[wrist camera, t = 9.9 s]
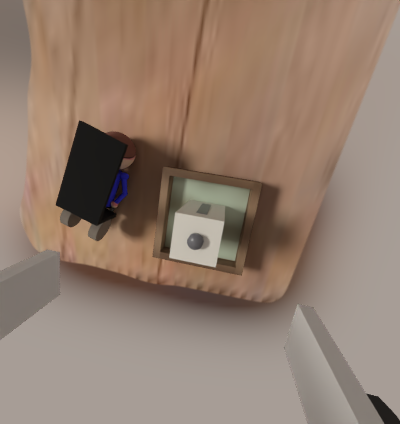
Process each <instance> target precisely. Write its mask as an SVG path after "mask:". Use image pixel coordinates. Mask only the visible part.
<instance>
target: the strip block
mask: <svg viewBox="0 0 400 424" xmlns="http://www.w3.org/2000/svg"><path fill="white" fill-rule="evenodd" d="M224 222H225V206H223V205H218V204H212V203H207V202H201V201H196V200H190V201H188V202H187V203H186V204H185V205H184V206H182V207H181V208H180V209H179V210H178V211H176V212H175V218H174V226H173V233H172V240H171V248H170V255H169V258H172V259H177V260H182V261H187V262H192V263H196V264H201V265H206V266H211V267H216V263H217V258H218V253H219V248H220V242H221V237H222V232H223V227H224Z"/></svg>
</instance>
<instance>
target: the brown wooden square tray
mask: <svg viewBox="0 0 400 424" xmlns="http://www.w3.org/2000/svg"><path fill="white" fill-rule="evenodd" d="M261 187H262V183H261V182H257V181H251V180H245V179H239V178H233V177H227V176H221V175H215V174H209V173H203V172H197V171H191V170H185V169H179V168H173V167H163V171H162V180H161V189H160V197H159V206H158V214H157V223H156V232H155V240H154V249H153V257H155V258H160V259H165V260H170V261H175V262H179V263H184V264H189V265H194V266H198V267H203V268H208V269H213V270H217V271H222V272H227V273H232V274H237V275H241V276H242V272H243V267H244V263H245V258H246V254H247V249H248V245H249V241H250V236H251V232H252V227H253V223H254V218H255V214H256V210H257V205H258V201H259V196H260V192H261ZM190 200H196V201H201V202H207V203H212V204H218V205H223V206H225V222H224V227H223V232H222V237H221V242H220V248H219V253H218V258H217V263H216V267H211V266H206V265H201V264H196V263H192V262H187V261H182V260H177V259H172V258H169V255H170V248H171V240H172V233H173V226H174V218H175V212H176V211H178V210H179V209H180V208H181V207H182V206H184V205H185V204H186V203H187V202H188V201H190Z"/></svg>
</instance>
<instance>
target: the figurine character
mask: <svg viewBox="0 0 400 424" xmlns="http://www.w3.org/2000/svg"><path fill="white" fill-rule="evenodd" d="M135 156H136V149H135V146H134V144H133V142H132V141H131V139H130V138H129V137H127V136H126V135H124V134H122V133H119V132H108V133H104V132H102V131H100V130H98V129H96V128H94V127H92V126H90V125H89V124H87V123H85V122H83V121H79V123H78V127H77V130H76V134H75V137H74V141H73V145H72V148H71V152H70V155H69V159H68V162H67V166H66V170H65V173H64V177H63V180H62V184H61V187H60V191H59V195H58V198H57V202H56V206H58V207H60V208H62V209H64V210H63V211H62V213H61V216H60V221H61V223H63V224H65V225H67V226H69V227H74V226H75V225H77V224H78V223H79V222H80V220H81V219H84V220H86V221H88V222H90V223H92V225H91V227H90V229H89V232H88V236H89V237H90V238H92V239H94V240H96V241H99V240H101V239H102V238H103V237H104V235H105V234H106V233H107V231H108V229H109V227H110V225H111V219H112V218H114V217H116V213H114V212H113V211H114V208H116V207H117V206H118V203H119V202H120V201H121V200H122V199H123V198H124V197H125V196H126V195H127V194H128V192H127V179H128V178H129V175H128V174H127V173H124V172H123V173H122V171H121V170H119V169H124V168H127V167H128V166H130V165H131V164H132V163H133V161H134V159H135ZM120 179H122V192H123V193H122V194H121V195H120V196H119V197H118V198H117V199H116V200H115V201H114V198H115V195H116V192H117V189H118V186H119V182H120ZM106 208H110V209H109V210H108V209H106Z"/></svg>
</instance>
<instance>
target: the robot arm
mask: <svg viewBox="0 0 400 424" xmlns="http://www.w3.org/2000/svg"><path fill="white" fill-rule="evenodd" d="M58 295H60V252H57V251H52V250H45V251H43V252H41V253H39V254H36V255H34V256H32V257H30V258H28V259H26V260H23V261H21V262H19V263H17V264H15V265H12V266H10V267H8V268H6V269H4V270H2V271H0V340H1V339H2V338H3V337H5V336H6V335H7V334H9V333H10V332H11V331H13V330H14V329H15V328H17V327H18V326H19V325H21V324H22V323H23V322H24V321H26V320H27V319H28V318H30V317H31V316H32V315H34V314H35V313H36V312H38V311H39V310H40V309H42V308H43V307H44V306H45V305H47V304H48V303H49V302H51V301H52V300H53V299H54V298H56V297H57V296H58ZM284 349H285V352H286V355H287V359H288V362H289V365H290V368H291V372H292V375H293V378H294V381H295V385H296V388H297V391H298V394H299V397H300V401H301V404H302V407H303V410H304V413H305V417H306V420H307V423H308V424H400V420H399V419H398V418H397V416H396V415H395V414H394V413H393V412H392V411H391V409H390V408H389V407H388V406H387V405H386V404H385V403H384V402H383V401H382V400H381V399H380V398H379V397H378V396H374V395H370V394H366V393H365V391H364V389H363V388H362V386H361V385H360V383H359V381H358V380H357V378H356V376H355V375H354V373H353V371H352V370H351V368H350V367H349V365H348V363H347V362H346V360H345V358H344V357H343V355H342V353H341V352H340V350H339V348H338V347H337V345H336V344H335V342H334V341H333V339H332V337H331V335H330V334H329V332H328V330H327V329H326V327H325V325H324V324H323V322H322V321H321V319H320V318H319V316H318V314H317V312H316V311H315V309H314V308H313V307H310V306H305V305H300V304H298V305H297V308H296V311H295V314H294V318H293V321H292V324H291V327H290V331H289V334H288V337H287V340H286V343H285V347H284Z"/></svg>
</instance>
